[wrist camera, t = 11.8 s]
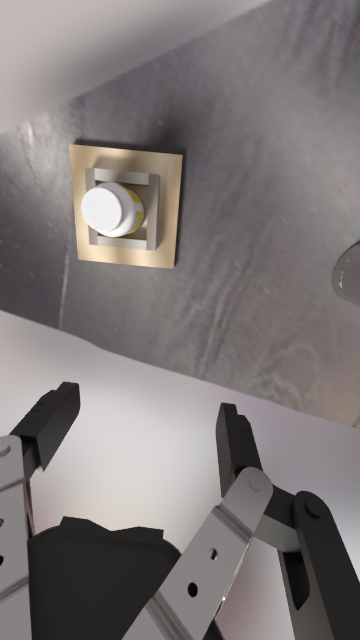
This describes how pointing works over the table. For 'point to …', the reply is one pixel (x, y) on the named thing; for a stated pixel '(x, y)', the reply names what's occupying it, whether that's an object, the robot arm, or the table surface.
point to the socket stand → (149, 184)
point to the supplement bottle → (113, 210)
